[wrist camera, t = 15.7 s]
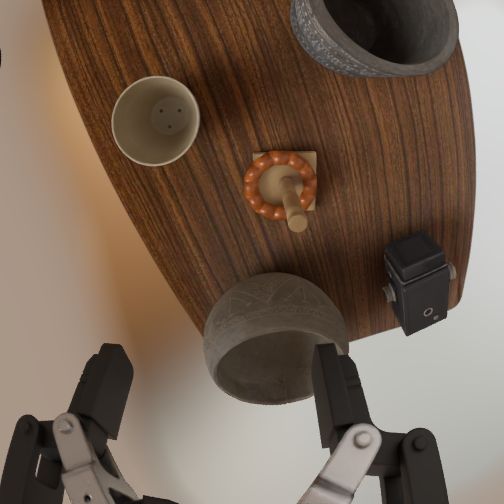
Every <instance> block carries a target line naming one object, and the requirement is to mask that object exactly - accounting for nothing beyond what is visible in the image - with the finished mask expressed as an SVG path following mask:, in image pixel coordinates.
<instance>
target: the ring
mask: <svg viewBox="0 0 504 504" xmlns="http://www.w3.org/2000/svg"><path fill="white" fill-rule="evenodd" d="M274 165H288V166H290V167H292V168H293V169H295V170H297V171H298V173H299V174H300V176H301V178H302V179H303V191H302V193H301V194H300V196H299V200H300V202H301V205H302V208H303V210H304V212H305V211H306V210H307V209H308V208H309V206H310V205H311V203H312V201H313V200H314V198H315V197H316V194H317V176H316V174H315V172H314V170H313V168H312V167H311V165H310V163H309V161H308V160H306V159H305V158H303V157H301V156H299V155H298V154H296V153H294V152H292V151H269V152H268V153H266V154H264V155H262V156H261V157H259V158H257V159H256V160H254V161H253V162H252V164H251V166H250V168H249V169H248V171H247V173H246V175H245V177H244V190H245V198H246V199H247V200H248V202H249V203H250V205H251V206H252V208H253V209H254V211H255V212H257V213H259V214H261V215H263V216H265V217H267V218H269V219H271V220H287V217H286V213H285V208H284V206H274V205H272V204H270V203H268V202H266V201H264V199H263V198H262V196H261V195H260V193H259V182H258V181H259V180H260V178H261V176H262V174H263V173H264V171H266V170H267V169H269V168H271V167H273V166H274Z"/></svg>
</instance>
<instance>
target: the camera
mask: <svg viewBox="0 0 504 504" xmlns="http://www.w3.org/2000/svg"><path fill="white" fill-rule="evenodd" d="M384 249H385V252H386V254H385V255H384V260H385V266H386V271H387V282H388V286H386V287H383V288H382V290H383V294H384V297H385V300H386V301H387V302H391V304H392V310H393V311H394V313H395V315H396V317H397V319H398V321H399V323H400V325H401V327H402V329H403V331H404V333H405V335H406V336H409V335H411V334H413V333H415V332H417V331H420V330H422V329H424V328H426V327H428V326H430V325H432V324H434V323H436V322H438V321H441V320H443V319H446V317H447V308H448V294H449V281H451V280H452V279H455V278H456V270H455V267H454V266H453V264H452V263H451V262H449V263H447V262H446V261H445V251H444V250H443V249H442V248H441V247H440V246H439V245H438V244H437V243H436V242H435V241H434V240H433V239H432V238H431V237H430V236H429V235H428V234H427V233H426V231H424V230H421V231H419V232H416V233H414V234H411V235H409V236H406V237H404V238H401V239H399V240H396V241H394V242H391V243H389V244H386V245H385V248H384Z"/></svg>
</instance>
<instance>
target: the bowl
mask: <svg viewBox="0 0 504 504" xmlns="http://www.w3.org/2000/svg"><path fill="white" fill-rule="evenodd" d="M203 342H204V343H203V345H204V353H205V359H206V364H207V367H208V370H209V372H210V375H211V377H212V378H213V380H214V382H215V383H216V385H217V386H218V387H219V388H220V389H221V390H223V391H224V392H225V393H227V394H228V395H230V396H232V397H234V398H236V399H238V400H240V401H244V402H248V403H253V404H263V405H281V404H286V403H292V402H296V401H300V400H304V399H307V398H309V397H311V396H313V395H314V391H313V385H312V378H311V365H312V360H313V354H314V348H315V345H316V344H324V343H335V345H336V349H337V352H338V355H346V354H348V353H349V339H348V333H347V328H346V324H345V322H344V319H343V316H342V314H341V313H340V311H339V310H338V308H337V307H336V306H335V304H334V303H333V302H332V301H331V299H330V298H329V297H328V296H327V295H326V294H325V293H324V292H323V291H322V290H321V289H320V288H319V287H317V286H316V285H314V284H313V283H311V282H310V281H308V280H306V279H304V278H302V277H299V276H296V275H292V274H287V273H280V272H275V273H263V274H258V275H254V276H252V277H249V278H247V279H244V280H242V281H240V282H239V283H237V284H236V285H234V286H233V287H231V288H230V289H229V290H228V291H226V292H225V293H224V294H223V295H222V297H221V298H220V299H219V300H218V301H217V303H216V304H215V305H214V307H213V308H212V310H211V312H210V314H209V317H208V319H207V322H206V325H205V329H204V337H203Z"/></svg>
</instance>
